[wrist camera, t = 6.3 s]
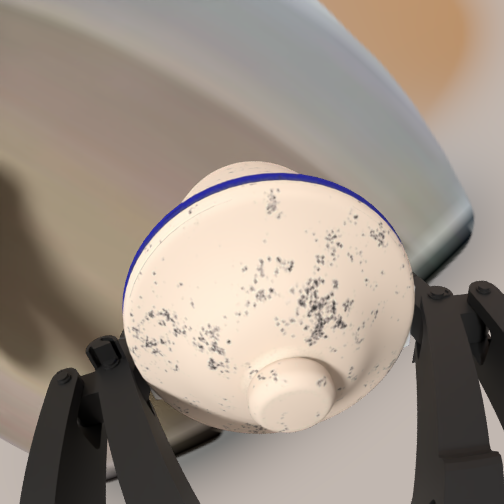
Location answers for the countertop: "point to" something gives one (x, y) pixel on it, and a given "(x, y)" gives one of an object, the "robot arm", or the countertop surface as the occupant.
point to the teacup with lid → (267, 300)
